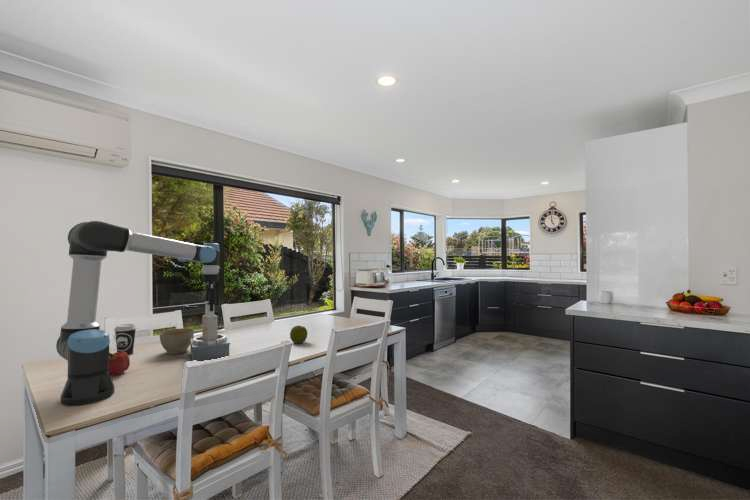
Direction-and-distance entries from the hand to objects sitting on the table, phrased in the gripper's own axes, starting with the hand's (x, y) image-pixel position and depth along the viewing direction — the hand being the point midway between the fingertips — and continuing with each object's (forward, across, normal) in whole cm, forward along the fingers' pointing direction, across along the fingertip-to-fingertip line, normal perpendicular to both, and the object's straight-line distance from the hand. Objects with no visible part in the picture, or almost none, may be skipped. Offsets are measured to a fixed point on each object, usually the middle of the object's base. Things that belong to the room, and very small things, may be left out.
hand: (209, 315), depth 175 cm
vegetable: (+22, -6, +37) cm, 44 cm away
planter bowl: (+21, +19, +13) cm, 32 cm away
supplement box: (+13, 0, 0) cm, 13 cm away
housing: (+21, +2, -1) cm, 21 cm away
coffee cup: (+22, +27, +36) cm, 50 cm away
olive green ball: (+20, +5, -49) cm, 53 cm away
